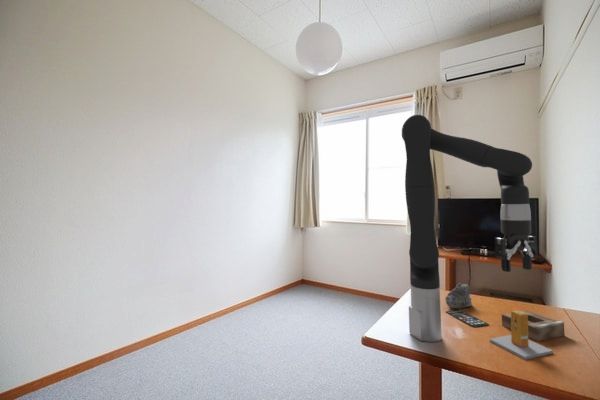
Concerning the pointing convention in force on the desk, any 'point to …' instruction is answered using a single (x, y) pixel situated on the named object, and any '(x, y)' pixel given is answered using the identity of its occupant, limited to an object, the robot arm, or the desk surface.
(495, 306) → the desk surface
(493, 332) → the desk surface
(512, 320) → the supplement box
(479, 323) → the smartphone
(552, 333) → the box
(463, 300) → the mineral rock
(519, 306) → the desk surface
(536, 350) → the mat
